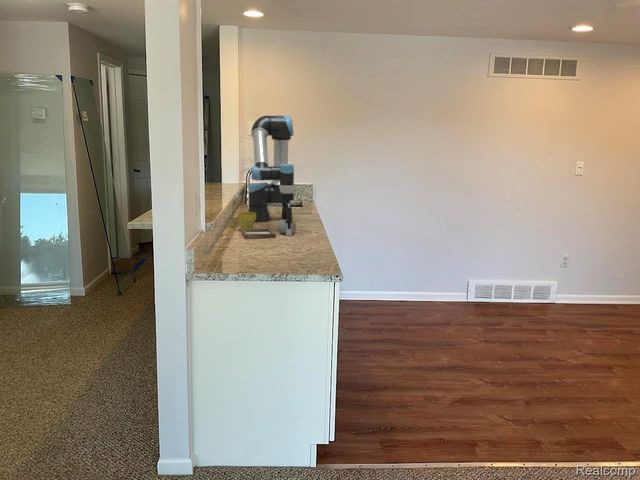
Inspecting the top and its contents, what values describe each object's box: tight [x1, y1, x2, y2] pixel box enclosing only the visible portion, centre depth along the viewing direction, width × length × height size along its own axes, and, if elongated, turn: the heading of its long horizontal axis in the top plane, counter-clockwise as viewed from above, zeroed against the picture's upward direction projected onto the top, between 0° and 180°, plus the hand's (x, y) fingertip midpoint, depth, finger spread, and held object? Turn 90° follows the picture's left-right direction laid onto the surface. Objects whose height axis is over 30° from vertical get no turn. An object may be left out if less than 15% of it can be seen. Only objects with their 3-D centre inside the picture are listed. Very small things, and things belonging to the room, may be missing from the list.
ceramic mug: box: [277, 219, 297, 235], centre depth 282 cm, size 11×8×8 cm
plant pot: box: [237, 211, 256, 232], centre depth 289 cm, size 10×10×10 cm
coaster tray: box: [241, 228, 277, 240], centre depth 274 cm, size 16×16×2 cm
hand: (286, 233), depth 282 cm, fingers closed on ceramic mug, 11 cm apart
